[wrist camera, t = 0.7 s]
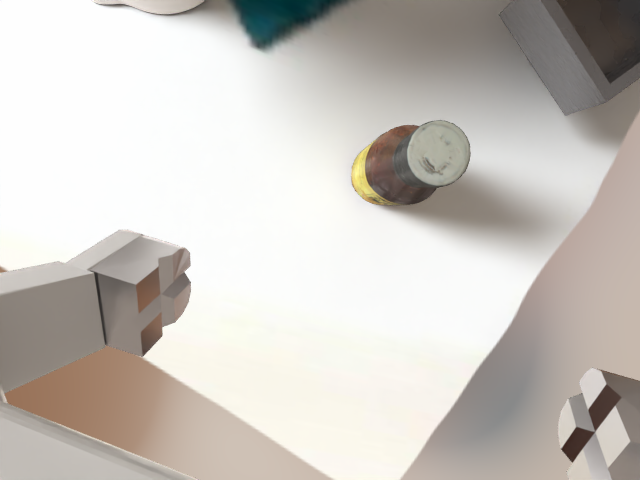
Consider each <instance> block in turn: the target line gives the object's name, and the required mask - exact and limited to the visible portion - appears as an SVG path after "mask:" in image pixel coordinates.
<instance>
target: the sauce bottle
mask: <svg viewBox="0 0 640 480" xmlns="http://www.w3.org/2000/svg"><path fill="white" fill-rule="evenodd" d="M469 160H470V144H469V141H468V139H467V137H466V135H465V134H464V132H463V131H462V130H461V129H460V128H459V127H457V126H456V125H455V124H453V123H449V122H447V121H441V120H437V121H431V122H428V123H425V124H423V125H421V126H415V125H403V126H399V127H396V128H394V129H391V130H389V131H388V132H386V133H384V134H382V135H381V136H380V137H378V138H377V139H376V140H375V141H373V142H372V143H371V144H370V145H368V146H367V147H366V148H365V149H364V150H363V151H361V152H360V153H359V155H358V156H357V157H356V159H355V161H354V163H353V166H352V173H351V179H352V185H353V187H354V189H355V191H356V192H357V193H358V194H359V195H360V196H361V197H362V198H363V199H364V200H366V201H368V202H370V203H373V204H379V205H410V204H416V203H419V202H421V201H424V200H425V199H427V198H428V197H429V196H430V195H432V193H433V192H434V191H435V190H436V188H439V187H443V186H447V185H449V184H452V183H453V182H455V181H456V180H458V179H459V178H460V177H461V176H462V174H463V173H464V172H465V171H466V169H467V166H468V163H469Z"/></svg>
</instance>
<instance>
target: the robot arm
mask: <svg viewBox="0 0 640 480" xmlns="http://www.w3.org/2000/svg"><path fill="white" fill-rule="evenodd" d="M92 1H93V2H95V3H98V4H126V5H129V6H132V7H135V8H137V9H140V10H143V11H146V12H150V13H156V14H174V13H179V12H183V11H186V10H189V9H191V8H194V7H196V6H198V5H199V4H201V3H202V2H204V1H205V0H92ZM189 267H190V252H189V251H188V250H187V249H186V248H184V247H181V246H178V245H175V244H171V243H168V242H165V241H162V240H159V239H156V238H153V237H149V236H145V235H143V234H139V233H136V232H133V231H129V230H118V231H117V232H115V233H113V234H112V235H110V236H109V237H107V238H105V239H104V240H102V241H100V242H99V243H97V244H95V245H94V246H92V247H91V248H89V249H87V250H86V251H84V252H82V253H81V254H79V255H78V256H76V257H74V258H73V259H71V260H69V261H68V262H66V263H62V262H59V261H58V262H53V263H48V264H43V265H38V266H33V267H28V268H23V269H18V270H13V271H8V272H3V273H0V480H199V479H197V478H194V477H191V476H189V475H186V474H184V473H181V472H179V471H176V470H174V469H171V468H169V467H166V466H164V465H161V464H158V463H156V462H154V461H151V460H149V459H146V458H144V457H141V456H138V455H136V454H133V453H131V452H128V451H126V450H123V449H121V448H118V447H116V446H113V445H111V444H108V443H106V442H103V441H101V440H98V439H96V438H93V437H90V436H88V435H86V434H83V433H80V432H78V431H75V430H73V429H70V428H68V427H65V426H63V425H60V424H58V423H55V422H53V421H50V420H48V419H45V418H42V417H40V416H38V415H35V414H32V413H30V412H27V411H25V410H22V409H20V408H17V407H15V406H12V405H10V404H8V403H7V400H6V397H5V395H4V393H6V392H8V391H10V390H13V389H15V388H17V387H19V386H22V385H24V384H26V383H28V382H30V381H33V380H35V379H37V378H39V377H42V376H44V375H46V374H48V373H50V372H52V371H55V370H57V369H59V368H61V367H63V366H66V365H68V364H70V363H72V362H74V361H77V360H79V359H81V358H83V357H85V356H88V355H90V354H92V353H94V352H96V351H98V350H101V349H103V348H105V345H106V346H109V347H113V348H116V349H119V350H122V351H125V352H128V353H132V354H135V355H138V356H141V357H143V356H144V355H145V354H146V353H147V352H148V351H149V350H150V349H151V348H152V346H153V345H154V344H155V343H156V342H157V341H158V340H159V339H160V338H161V337H162V327H164V326H166V325H169V324H172V323H175V322H176V321H177V320H178V318H179V317H180V316H181V315H182V314H183V312H184V310H185V308H186V306H187V304H188V302H189V297H190V292H191V282H190V281H189V279H188V277H187V276H186V274H185V273H184V272H185V271H186V270H187V269H188V268H189ZM579 384H580V387H581V390H582V393H581V394H579V395H576V396H574V397H571V398H569V399H568V400H567V402H566V404H565V405H564V407H563V409H562V410H561V413H560V418H559V423H558V438H559V443H560V447H561V450H562V451H563V452H564V453H565V454H566V456H567V457H568V458H569V459H570V461H571V462H572V464H571V466H570V468H569V469H568V470H567V476H568V480H640V381H638V380H634V379H631V378H627V377H624V376H620V375H617V374H614V373H610V372H607V371H603V370H599V369H596V368H591V369H590V370H588V371H587V372H586V373H585V374H584V375H583V377H582V378H581V380H580V381H579Z"/></svg>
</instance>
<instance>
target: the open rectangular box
mask: <svg viewBox="0 0 640 480" xmlns="http://www.w3.org/2000/svg"><path fill="white" fill-rule="evenodd" d="M499 16H500V17H501V19H502V20H503V22H504V23H505V25H506V26H507V28H508V29H509V31H510V33H511V34H512V36H513V37H514V39H515V40H516V42H517V43H518V45H519V46H520V48H521V49H522V51H523V52H524V54H525V55H526V57H527V58H528V60H529V61H530V63H531V64H532V66H533V67H534V69H535V71H536V72H537V74H538V75H539V77H540V78H541V80H542V81H543V83H544V84H545V86H546V87H547V89H548V90H549V92H550V93H551V95H552V96H553V98H554V99H555V101H556V102H557V104H558V105H559V107H560V108H561V110H562V112H563V113H564V115H568V114H571V113H574V112H577V111H581V110H584V109H587V108H590V107H593V106H596V105H599V104H602V103H605V102H607V101H608V100H610V99H611V98H613V97H614V96H615V95H617V94H618V93H619V92H621V91H622V90H624V89H625V88H626V87H628V86H629V85H630V84H632V83H633V82H635V81H636V80H637V79H639V78H640V0H513V1H512V2H511V3H510V4H509V5H508V6H507V7H506V8H505V9H504V10H503V11H502V12H501V13H500V14H499Z"/></svg>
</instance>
